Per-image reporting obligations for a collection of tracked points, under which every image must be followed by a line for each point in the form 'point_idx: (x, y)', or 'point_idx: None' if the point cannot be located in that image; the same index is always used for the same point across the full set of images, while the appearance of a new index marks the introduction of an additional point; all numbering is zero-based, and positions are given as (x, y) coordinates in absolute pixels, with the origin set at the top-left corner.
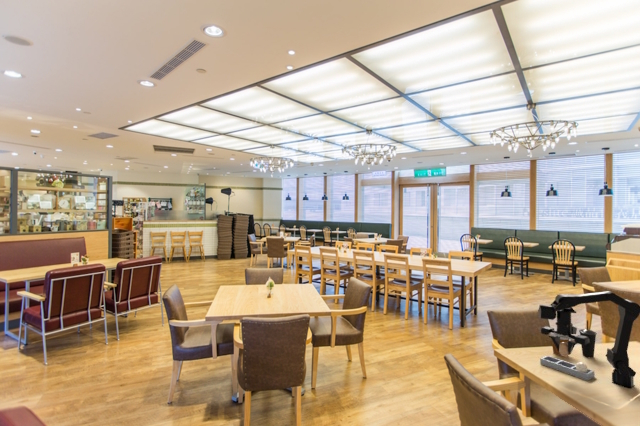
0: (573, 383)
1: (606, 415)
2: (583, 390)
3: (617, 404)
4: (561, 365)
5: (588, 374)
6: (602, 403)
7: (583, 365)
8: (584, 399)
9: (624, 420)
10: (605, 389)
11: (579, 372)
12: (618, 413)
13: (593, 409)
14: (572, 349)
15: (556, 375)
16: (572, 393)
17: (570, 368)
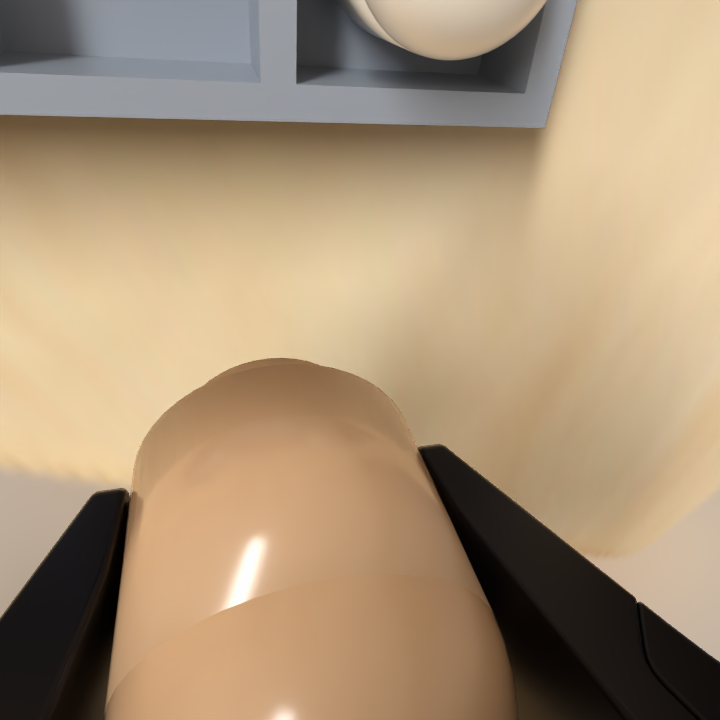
0: (384, 308)
1: (628, 532)
2: (491, 369)
3: (707, 365)
4: (100, 107)
5: (551, 81)
6: (618, 438)
7: (534, 14)
8: (518, 488)
9: (701, 502)
10: (664, 140)
11: (428, 123)
12: (688, 467)
13: (572, 538)
14: (573, 576)
15: (159, 272)
16: None
17: (279, 108)
